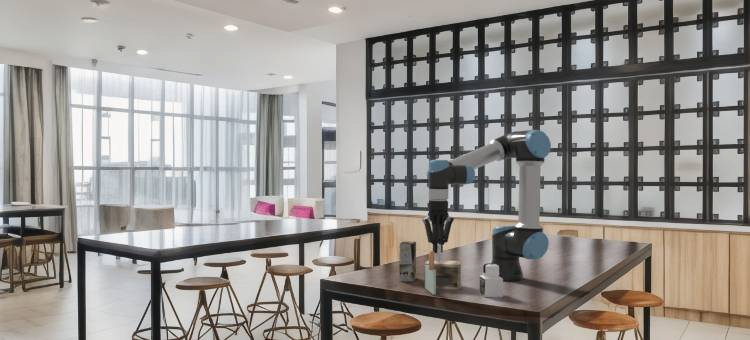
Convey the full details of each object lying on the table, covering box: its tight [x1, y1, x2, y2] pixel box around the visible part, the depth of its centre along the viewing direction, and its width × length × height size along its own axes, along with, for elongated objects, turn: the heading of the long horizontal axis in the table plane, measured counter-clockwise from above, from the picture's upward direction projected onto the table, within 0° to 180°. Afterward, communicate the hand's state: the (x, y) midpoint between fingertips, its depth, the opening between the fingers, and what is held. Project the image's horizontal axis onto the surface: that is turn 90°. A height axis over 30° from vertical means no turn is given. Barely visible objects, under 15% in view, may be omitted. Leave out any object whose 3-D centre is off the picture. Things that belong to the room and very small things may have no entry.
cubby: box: [424, 259, 462, 291], centre depth 231 cm, size 14×9×10 cm, turn 80°
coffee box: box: [398, 241, 417, 283], centre depth 246 cm, size 9×6×16 cm
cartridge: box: [437, 276, 449, 286], centre depth 231 cm, size 5×4×3 cm
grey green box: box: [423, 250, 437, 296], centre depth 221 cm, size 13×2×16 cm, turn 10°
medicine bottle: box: [479, 262, 504, 298], centre depth 216 cm, size 7×7×12 cm
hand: (437, 261), depth 217 cm, fingers closed
